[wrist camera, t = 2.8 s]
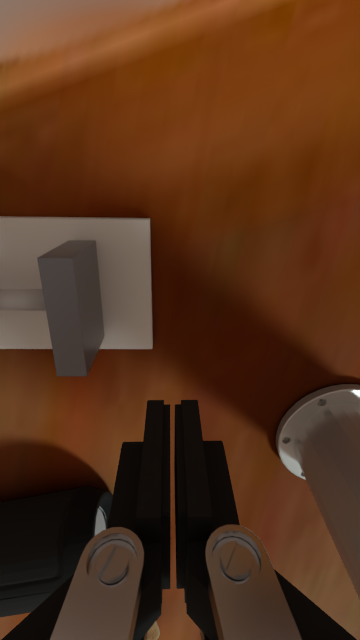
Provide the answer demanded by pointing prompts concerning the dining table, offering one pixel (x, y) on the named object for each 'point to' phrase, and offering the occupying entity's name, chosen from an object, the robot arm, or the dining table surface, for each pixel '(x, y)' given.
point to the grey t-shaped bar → (66, 304)
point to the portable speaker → (45, 543)
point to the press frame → (114, 275)
